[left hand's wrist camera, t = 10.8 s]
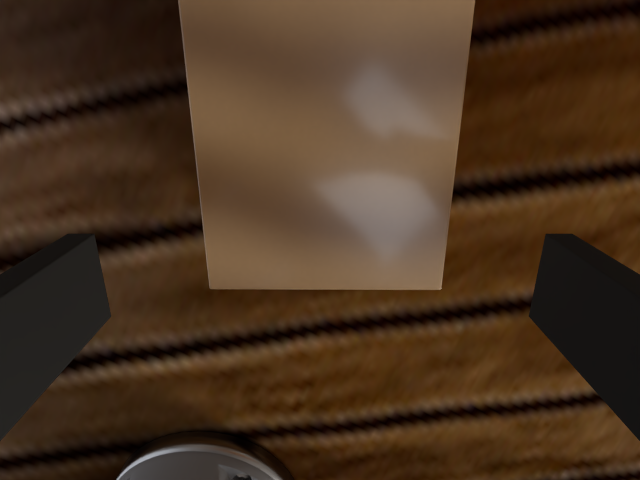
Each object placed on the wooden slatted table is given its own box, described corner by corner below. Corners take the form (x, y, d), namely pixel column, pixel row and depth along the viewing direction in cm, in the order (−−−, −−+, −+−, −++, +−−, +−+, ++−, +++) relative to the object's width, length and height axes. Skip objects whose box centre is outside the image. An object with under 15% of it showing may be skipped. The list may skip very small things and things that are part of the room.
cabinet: (220, -149, 19) (142, -320, 11) (432, -150, 19) (513, -323, 11) (246, 221, 26) (209, 289, 18) (404, 222, 26) (441, 290, 18)
